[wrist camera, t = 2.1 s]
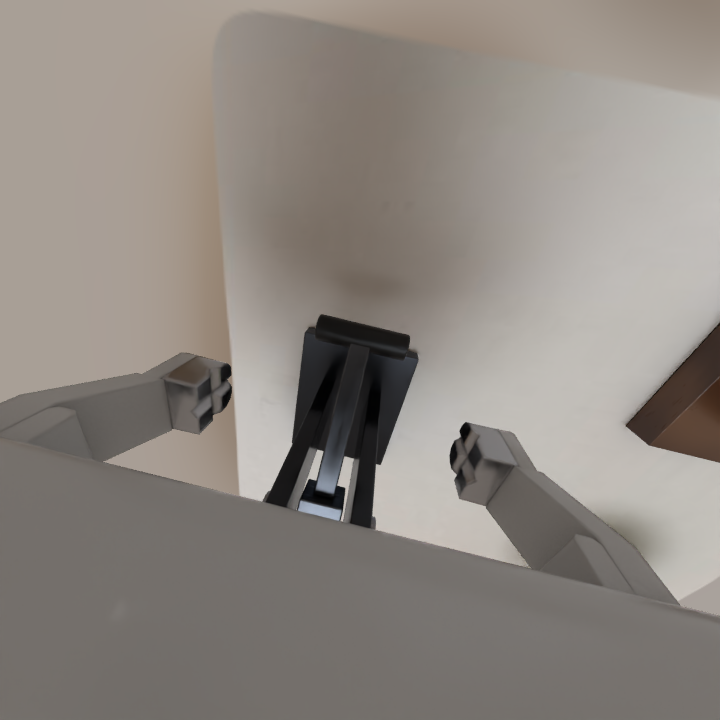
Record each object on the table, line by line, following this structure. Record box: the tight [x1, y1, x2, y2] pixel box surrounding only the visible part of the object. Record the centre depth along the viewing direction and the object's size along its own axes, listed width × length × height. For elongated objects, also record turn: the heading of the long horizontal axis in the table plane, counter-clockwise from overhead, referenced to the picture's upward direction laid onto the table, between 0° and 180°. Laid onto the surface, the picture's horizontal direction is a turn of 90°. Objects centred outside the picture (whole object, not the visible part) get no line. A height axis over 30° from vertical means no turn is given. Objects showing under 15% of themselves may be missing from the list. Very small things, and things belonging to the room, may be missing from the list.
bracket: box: [263, 327, 418, 530], centre depth 18 cm, size 12×9×13 cm
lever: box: [297, 314, 410, 521], centre depth 14 cm, size 12×5×2 cm, turn 168°
